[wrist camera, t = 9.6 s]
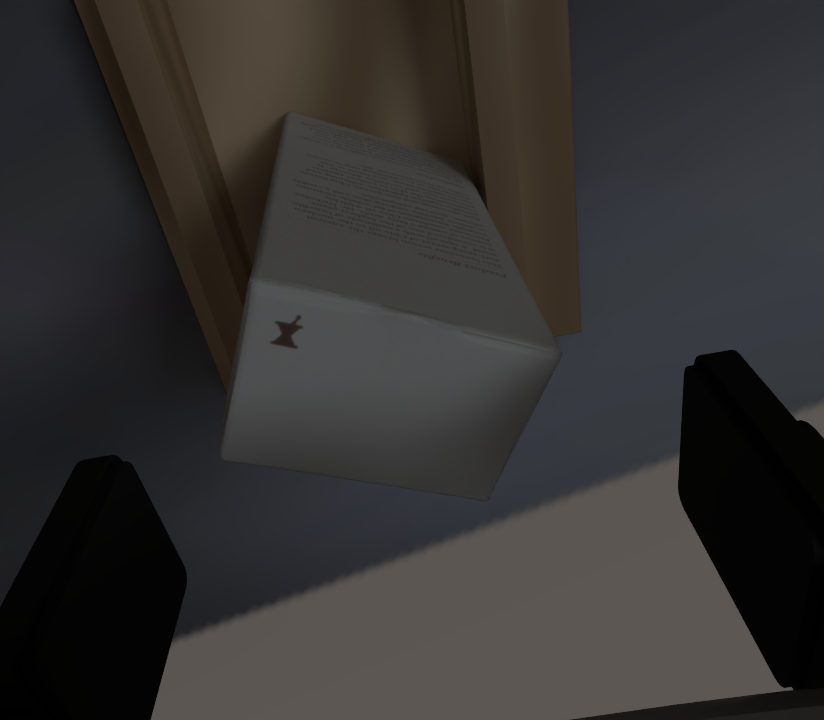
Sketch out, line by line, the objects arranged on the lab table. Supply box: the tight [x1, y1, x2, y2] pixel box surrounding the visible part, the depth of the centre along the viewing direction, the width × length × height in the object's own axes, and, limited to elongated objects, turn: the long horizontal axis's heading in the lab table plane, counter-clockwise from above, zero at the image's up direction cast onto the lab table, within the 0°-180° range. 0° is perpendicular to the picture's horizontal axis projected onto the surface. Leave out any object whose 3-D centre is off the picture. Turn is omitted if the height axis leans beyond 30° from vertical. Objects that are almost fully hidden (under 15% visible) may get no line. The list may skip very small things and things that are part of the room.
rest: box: [74, 0, 581, 394], centre depth 21 cm, size 14×18×4 cm
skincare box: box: [218, 112, 562, 501], centre depth 18 cm, size 6×4×12 cm
